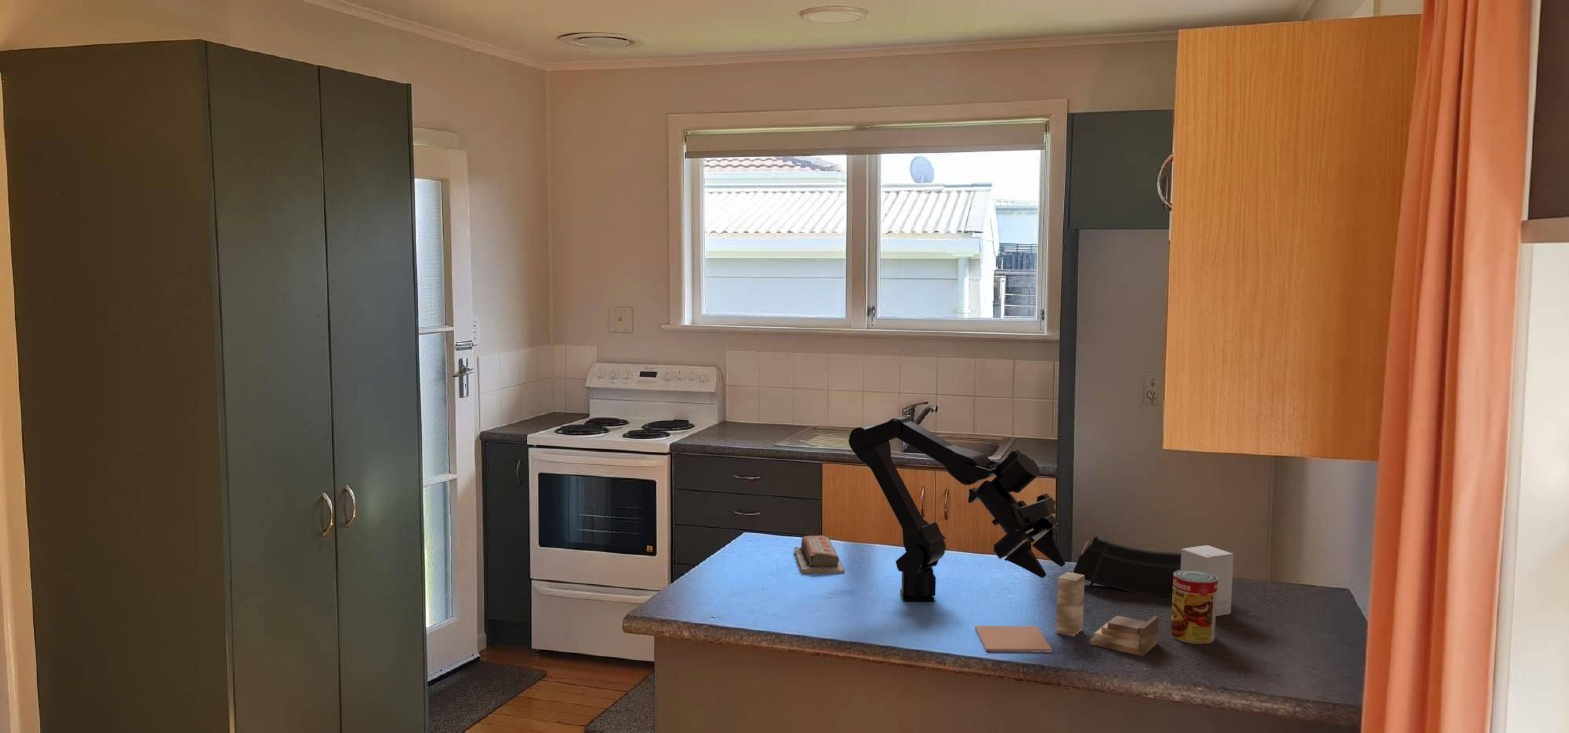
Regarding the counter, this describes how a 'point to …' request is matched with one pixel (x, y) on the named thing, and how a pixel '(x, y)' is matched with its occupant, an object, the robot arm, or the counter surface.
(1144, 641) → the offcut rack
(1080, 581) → the tall wooden block
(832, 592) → the counter surface
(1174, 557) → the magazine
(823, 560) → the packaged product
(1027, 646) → the tile
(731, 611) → the counter surface
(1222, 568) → the supplement box
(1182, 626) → the canned food
